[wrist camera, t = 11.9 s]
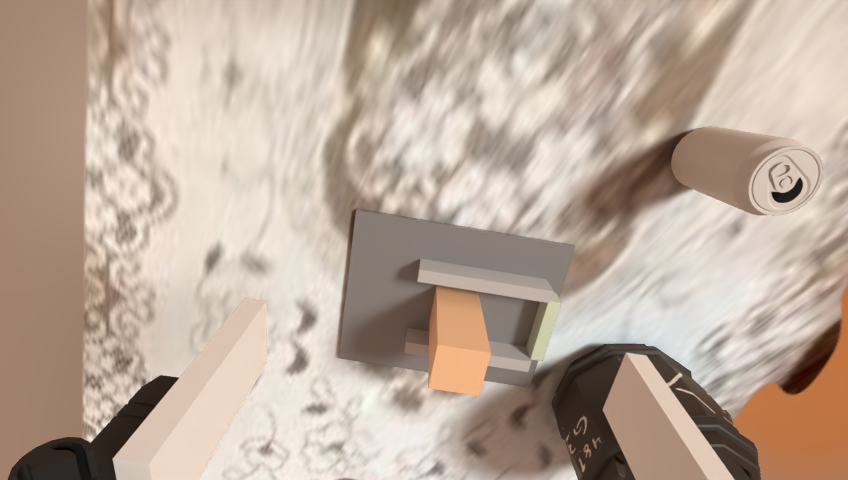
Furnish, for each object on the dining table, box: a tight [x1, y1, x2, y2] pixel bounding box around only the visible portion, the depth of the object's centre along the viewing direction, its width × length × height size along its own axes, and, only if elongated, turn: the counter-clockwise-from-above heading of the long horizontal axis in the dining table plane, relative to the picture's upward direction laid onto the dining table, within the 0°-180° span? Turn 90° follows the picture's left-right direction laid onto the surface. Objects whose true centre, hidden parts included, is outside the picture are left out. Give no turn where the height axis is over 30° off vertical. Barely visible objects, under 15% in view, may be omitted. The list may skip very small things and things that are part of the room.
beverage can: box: [671, 126, 824, 216], centre depth 39 cm, size 6×6×12 cm
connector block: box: [428, 285, 491, 396], centre depth 45 cm, size 5×5×12 cm
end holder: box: [339, 209, 575, 387], centre depth 50 cm, size 20×25×4 cm
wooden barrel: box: [552, 344, 761, 480], centre depth 48 cm, size 18×18×16 cm
